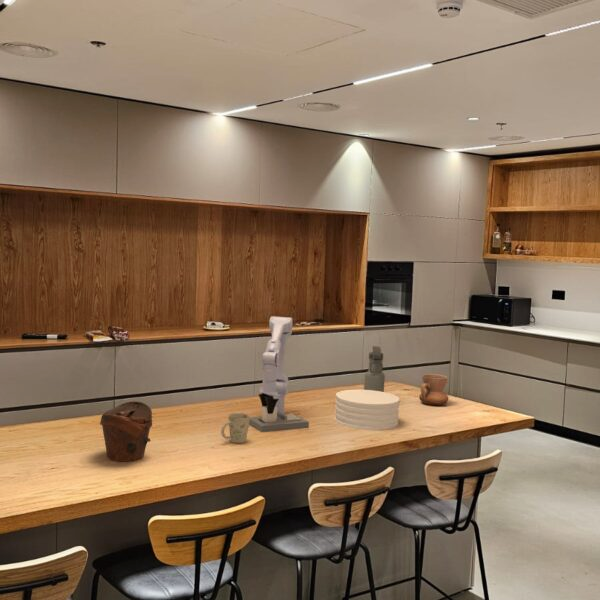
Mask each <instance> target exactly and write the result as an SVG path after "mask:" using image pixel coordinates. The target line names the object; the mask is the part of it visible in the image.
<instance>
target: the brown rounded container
mask: <svg viewBox="0 0 600 600" xmlns="http://www.w3.org/2000/svg"><path fill="white" fill-rule="evenodd" d="M152 414H153V412H152V408H151V407H150V406H149V405H148V404H146V403H144V402H141V401H137V400H136V401H128V402H124V403H121V404H119V405H117V406H115V407H113V408H110V409H109V410H107V411H106V412H104V413H102V415H101V418H100V422H99V424H100V426H102V427H101V428H102V433H103V438H104V439H103V440H104V444H105V445H104V446H105V450H106V457H107V458H108V459H109V460H110V461H114V462H133V461H137V460H140V459H142V458H143V457H144V456H145V451H146V448H147V445H148V442H151V439H150V438H149V435H150V429H151V427H153V415H152Z"/></svg>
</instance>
